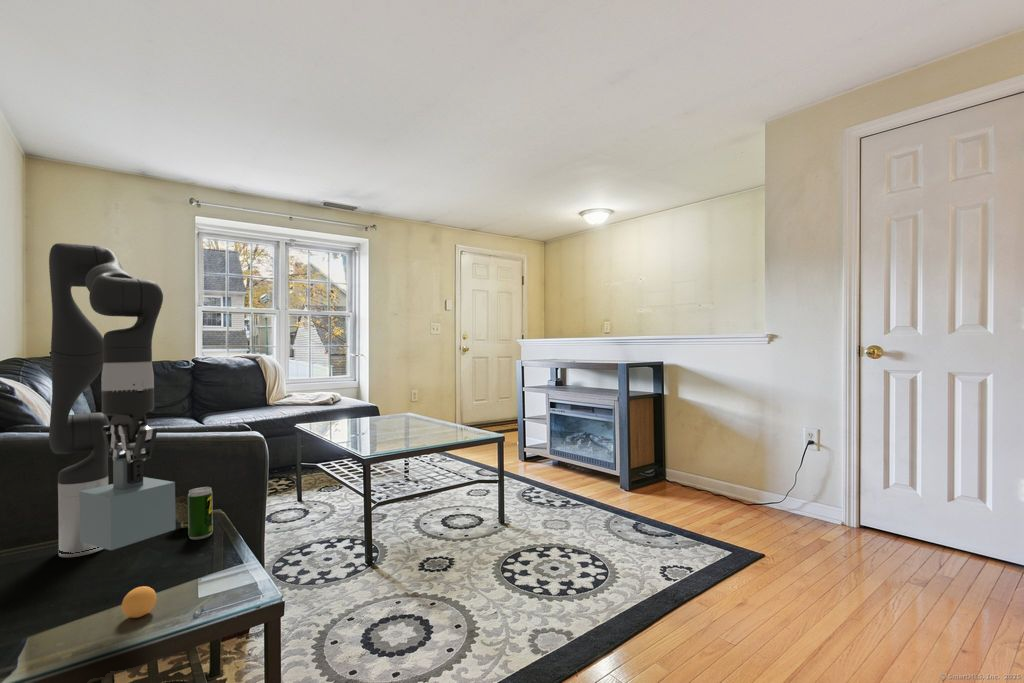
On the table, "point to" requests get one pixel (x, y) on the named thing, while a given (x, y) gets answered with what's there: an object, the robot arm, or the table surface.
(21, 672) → the table surface
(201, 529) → the beer can
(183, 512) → the cup
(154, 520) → the blue-grey box with knob
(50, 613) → the table surface
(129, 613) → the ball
